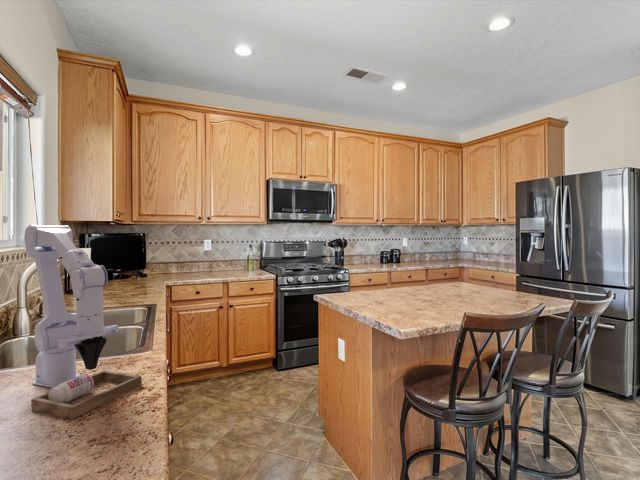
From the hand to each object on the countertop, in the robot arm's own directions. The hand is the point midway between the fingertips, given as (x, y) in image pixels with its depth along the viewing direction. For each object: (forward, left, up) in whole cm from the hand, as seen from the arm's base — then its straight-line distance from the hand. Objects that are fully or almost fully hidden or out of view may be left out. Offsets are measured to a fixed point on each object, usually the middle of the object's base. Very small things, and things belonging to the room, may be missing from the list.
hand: (91, 368), depth 88 cm
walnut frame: (0, 0, -7) cm, 7 cm away
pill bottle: (-3, +2, -4) cm, 6 cm away
